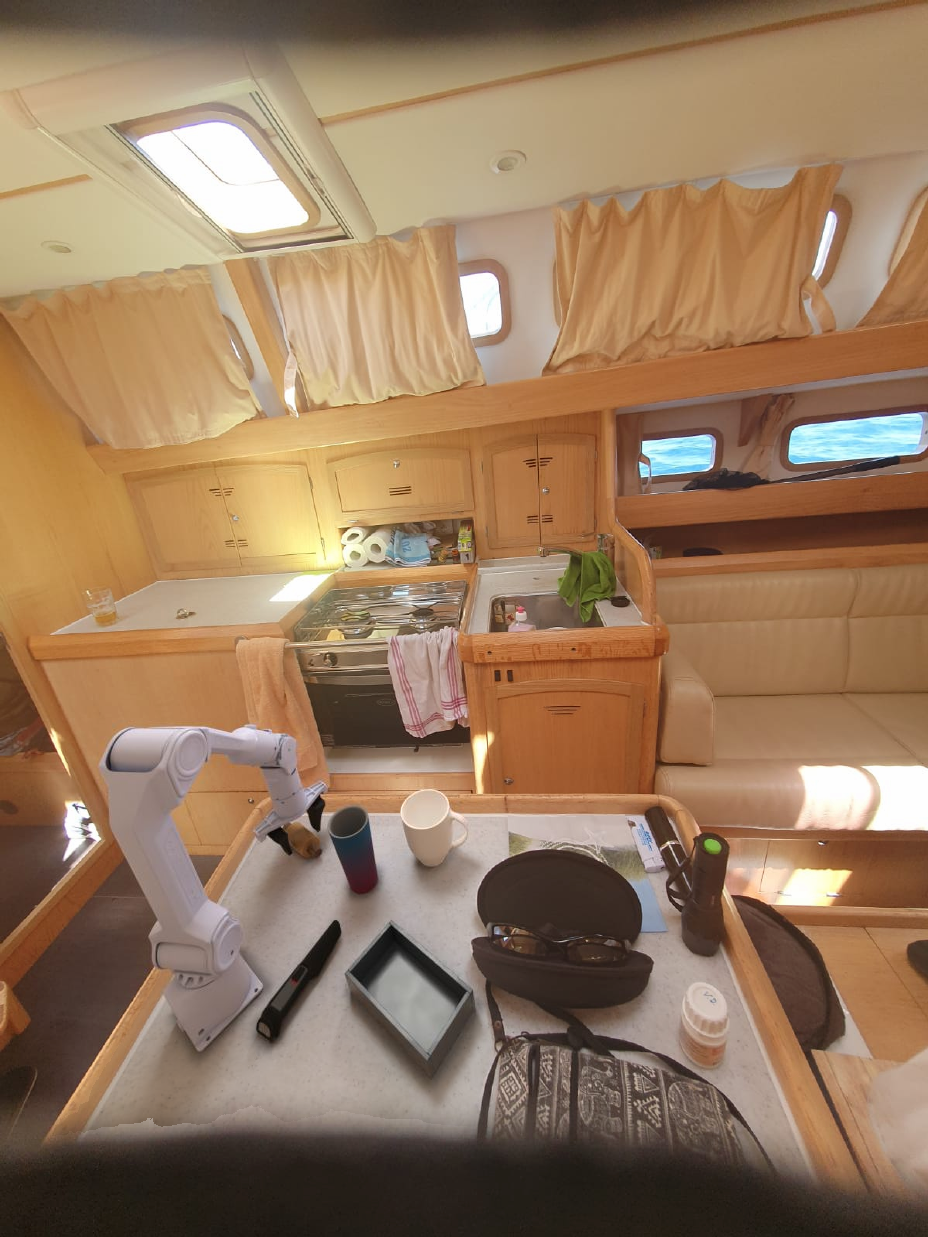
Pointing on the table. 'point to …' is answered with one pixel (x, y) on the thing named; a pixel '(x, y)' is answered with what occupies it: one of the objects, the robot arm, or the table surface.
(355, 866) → the cup
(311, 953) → the electric trimmer
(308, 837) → the rolling pin
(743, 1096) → the table surface
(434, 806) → the mug
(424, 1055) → the tin
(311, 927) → the table surface
